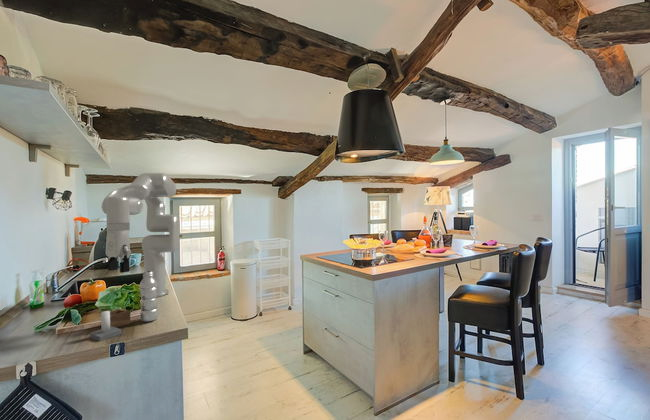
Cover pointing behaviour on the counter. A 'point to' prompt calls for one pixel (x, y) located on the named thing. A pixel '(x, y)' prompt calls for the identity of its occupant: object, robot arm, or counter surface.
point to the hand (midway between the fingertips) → (118, 271)
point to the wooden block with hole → (119, 317)
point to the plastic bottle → (148, 297)
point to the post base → (105, 335)
